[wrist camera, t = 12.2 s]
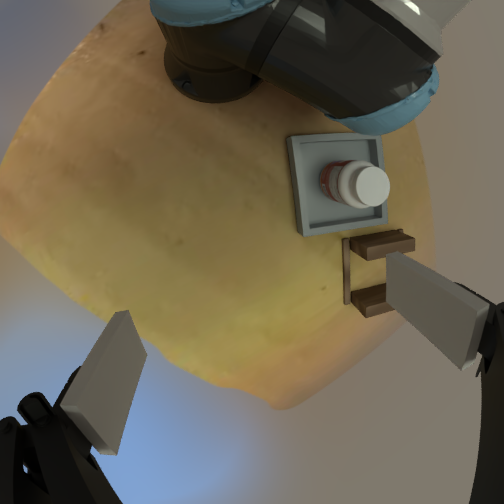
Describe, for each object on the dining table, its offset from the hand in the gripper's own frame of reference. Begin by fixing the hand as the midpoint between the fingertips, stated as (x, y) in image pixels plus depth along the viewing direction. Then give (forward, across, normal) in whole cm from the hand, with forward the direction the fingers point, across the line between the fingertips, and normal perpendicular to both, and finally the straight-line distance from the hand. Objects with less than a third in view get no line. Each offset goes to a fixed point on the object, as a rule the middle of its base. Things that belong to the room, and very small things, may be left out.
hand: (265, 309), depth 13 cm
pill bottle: (+28, +16, +2) cm, 32 cm away
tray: (+29, +16, +2) cm, 33 cm away
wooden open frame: (+29, +21, -13) cm, 38 cm away
